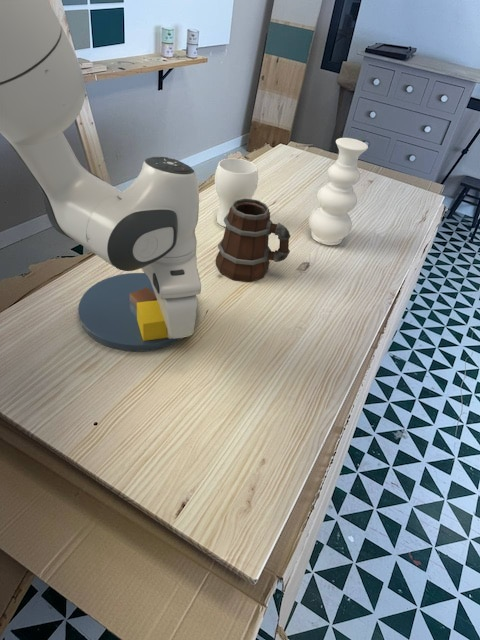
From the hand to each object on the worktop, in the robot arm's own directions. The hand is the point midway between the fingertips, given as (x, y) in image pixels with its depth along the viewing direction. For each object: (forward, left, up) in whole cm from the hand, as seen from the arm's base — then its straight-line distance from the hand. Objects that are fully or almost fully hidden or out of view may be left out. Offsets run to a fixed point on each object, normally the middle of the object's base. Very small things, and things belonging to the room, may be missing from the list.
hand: (167, 322), depth 84 cm
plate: (-4, +7, -3) cm, 8 cm away
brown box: (-3, +7, -1) cm, 8 cm away
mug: (+23, +17, -3) cm, 29 cm away
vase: (+48, +27, -3) cm, 55 cm away
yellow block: (0, 0, -1) cm, 1 cm away
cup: (+26, +39, -3) cm, 47 cm away
